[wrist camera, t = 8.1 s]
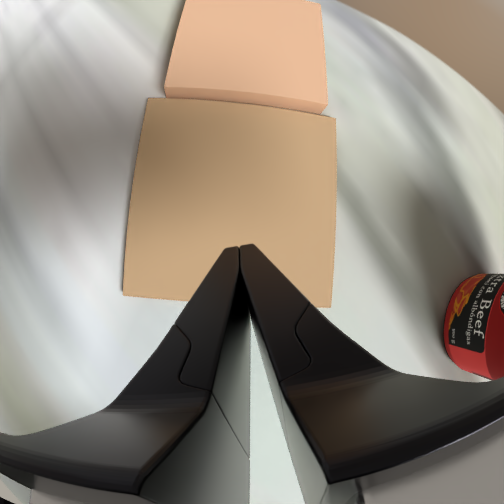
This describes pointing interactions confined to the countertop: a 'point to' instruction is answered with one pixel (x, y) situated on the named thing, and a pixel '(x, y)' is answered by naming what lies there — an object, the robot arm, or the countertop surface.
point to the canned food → (477, 326)
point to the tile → (250, 54)
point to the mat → (230, 195)
